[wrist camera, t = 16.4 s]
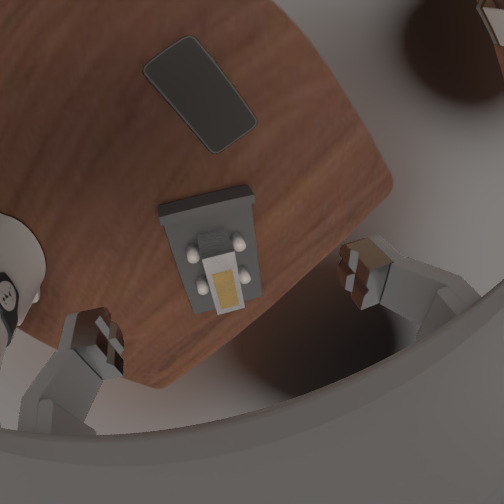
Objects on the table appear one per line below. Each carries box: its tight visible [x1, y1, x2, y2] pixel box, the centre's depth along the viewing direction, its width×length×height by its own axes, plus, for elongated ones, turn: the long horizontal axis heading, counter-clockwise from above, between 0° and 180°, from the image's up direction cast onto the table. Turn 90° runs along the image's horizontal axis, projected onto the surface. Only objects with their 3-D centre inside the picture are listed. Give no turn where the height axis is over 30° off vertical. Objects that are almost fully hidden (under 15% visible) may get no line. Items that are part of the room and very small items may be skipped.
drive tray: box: [159, 185, 262, 314], centre depth 39 cm, size 12×20×4 cm, turn 7°
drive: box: [196, 227, 245, 315], centre depth 38 cm, size 10×4×6 cm, turn 7°
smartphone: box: [143, 36, 257, 154], centre depth 28 cm, size 7×1×15 cm
